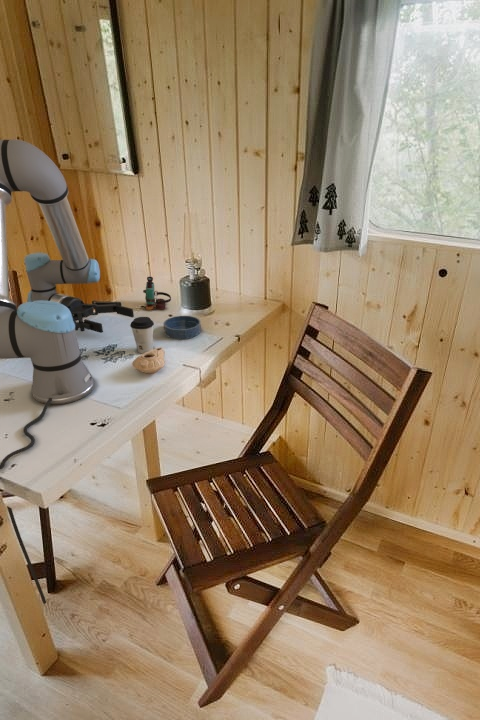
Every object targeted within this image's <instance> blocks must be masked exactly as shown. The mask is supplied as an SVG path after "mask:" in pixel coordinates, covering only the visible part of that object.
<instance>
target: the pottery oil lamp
mask: <svg viewBox="0 0 480 720" xmlns="http://www.w3.org/2000/svg"><path fill="white" fill-rule="evenodd" d="M131 365H132V367H133V368H134V369H135V370H137V371H139V372H141V373H146V374H149V375H152V374H156V373H158V372H159V371H160V370H161V369H163V368H164V367H165V366H166V360H165V350H164V348H163V347H153V350H151V351H149V352H146V353H141V354H140V355H138V356H137V357H136V358H135V359H134V360H133V361H132V364H131Z"/></svg>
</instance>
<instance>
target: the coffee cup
mask: <svg viewBox="0 0 480 720" xmlns="http://www.w3.org/2000/svg"><path fill="white" fill-rule="evenodd" d="M154 325H155V323H154V321H153V320H152V318H150V317H149V316H139V317H135V318H134V319H133V320H132V321H131V322H130V324H129V326H130V328H131V331H132V334H133V338H134V341H135V345H136V349H137V352H138V353H140V354H143V353H146V352H149V351H151V350H153V349H154Z"/></svg>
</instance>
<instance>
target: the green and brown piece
mask: <svg viewBox="0 0 480 720" xmlns="http://www.w3.org/2000/svg"><path fill="white" fill-rule="evenodd" d="M153 280H154V277H152V276H147V277H146V284H145V289H143V290H142V293H144V294H145V298H144V299H145V303H146V306H145V309H146V310H147V311H150V310H153V309H159V310H166V307H167V305H166V304H167V303H169V302H171V301H172V297H171V295H170V294H169V293H167V292H164V291H158V290H155V283H154V282H153ZM158 296H166V297H168V299H164V298H157V297H158Z"/></svg>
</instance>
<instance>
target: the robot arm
mask: <svg viewBox="0 0 480 720" xmlns="http://www.w3.org/2000/svg"><path fill="white" fill-rule="evenodd" d="M13 192H27V193H29V194H30V197H31V198H32V200H33V201H34V202H35V203H37V204H38V205H39V208H40V210H41V212H42V215H43V217H44V219H45V222H46V224H47V226H48V229H49V231H50V233H51V235H52V236H51V237H52V238H53V241H54V243H55V245H56V247H57V249H58V252H59V254H60V257H61V259H51V258H50V255H49V254H48V253H45V252H32V253H29V254H27V255H25V257H24V258H23V261H24V267H25V273H26V275H27V279H28V282H29V286H30V288H31V290H29V292H28V293H27V298H26V302H24V303H21V304H19V305H18V307H17V304H16V303H14V302H13V301H12V299H11V298H10V286H9V265H8V264H9V262H8V242H7V220H6V219H7V218H6V215H7V214H6V207H7V206H9V205H10V204H11V203H12V199H13V197H12V193H13ZM68 195H69V188H68V184H67V181H66V179H65V177H64V175H63V173H62V172H61V170H60V168H59V167H58V166H57V165H56V164H55V162H54V161H53V160H52V159H51V158H50V157H49V156H48V155H47V154H46V153H45V152H44V151H43V150H41V149H40V148H38V147H37V146H36V145H34V144H32V143H30V142H28V141H25V140H22V139H17V138H16V139H15V138H12V139H0V360H8V359H10V360H11V359H28V358H29V359H30V361H31V364H32V368H33V369H32V383H31V393H32V396H33V398H34V400H35V401H37V402H38V403H40V404H45V405H44V406H43V408H42V411H41V413H40V414H39V416H37V417H36V418H35V419H33V420H32V421H29V422H28V423H27V424H26V425H24V427H23V429H22V431H23V434H24V435H25V436H26V437H27V438H29V439H30V443H28V445H26V446H23V447H21V448H19V449H16V450H13V451H11V452H10V453H9V454H7V455H5V457H4V458H3V459H2V460H1V462H0V470H3V468H4V467H5V464H6V463H7V461H8V460H9V459H10V458H12V457H13V456H15V455H18V454H20V453H22V452H26V451H27V450H29V449H31V448H32V447H33V446H34V444H35V442H36V439H35V437H34V435H33V434H31V433H30V432H28V429H29V427H31V426H33V425H34V424H36V423H38V422H39V421H41V419H43V417H44V416H45V415H46V412H47V410H48V408H49V406H50V405H52V406H53V405H54V406H55V405H57V406H58V405H66V404H70V403H73V402H76V401H79V400H82V399H84V398H85V397H87V396H88V395H90V394H91V393H92V392H93V390H95V381H94V377H93V375H92V373H91V372H90V370H89V368H88V367H87V366H86V364H85V362H84V361H83V359H82V354H81V349H80V345H79V341H78V336H77V331H79V329H80V332H85V330H89V331H93V332H97V333H100V334H102V333H104V329H103V324H102V323H101V322H97V321H93V320H89V319H85V318H88V317H90V316H97V315H99V314H111V313H113V314H114V313H116V314H117V315H120V316H125V317H129V318H134V316H135V313H134V309H133V308H131V307H128V306H122V301H99V300H92V301H91V303H85V302H84V301H83V300H82V299H81V298H79V297H75V296H71V295H67V294H62V293H59V292H57V285H73V284H77V285H79V284H86V285H87V284H94V283H98V282H99V281H100V280H101V279H100V278H101V269H100V265H99V261H97V259H95V258H89V255H88V253H87V251H86V247H85V245H84V242H83V239H82V236H81V233H80V230H79V227H78V225H77V222H76V219H75V217H74V213H73V210H72V207H71V205H70V202H69V199H68ZM77 321H78V322H77ZM6 508H7V511H8V515H9V518H10V522H11V524H12V527H13V531H14V533H15V536H16V539H17V541H18V543H19V544H18V545H19V546H20V549H21V551H22V554H23V556H24V559H25V561H26V564H27V566H28V568H29V571H30V574H31V576H32V578H33V580H34V583H35V585H36V588H37V591H38V593H39V596H40V598H41V601H42V604H43V605H45V604H47V600H46V597H45V594H44V591H43V588H42V586H41V584H40V581H39V579H38V577H37V573H36V571H35V569H34V566H33V564H32V561H31V559H30V557H29V554H28V552H27V551H28V550H27V549H26V546H25V544H24V541H23V539H22V536H21V533H20V531H19V528H18V524H17V522H16V519H15V515H14V512H13V509H12V507H10V506H8V505H6Z"/></svg>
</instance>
